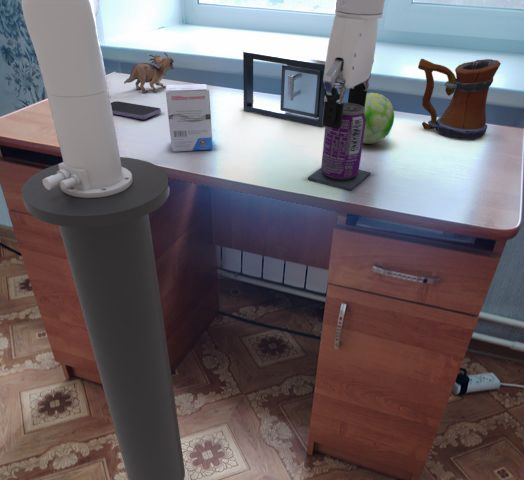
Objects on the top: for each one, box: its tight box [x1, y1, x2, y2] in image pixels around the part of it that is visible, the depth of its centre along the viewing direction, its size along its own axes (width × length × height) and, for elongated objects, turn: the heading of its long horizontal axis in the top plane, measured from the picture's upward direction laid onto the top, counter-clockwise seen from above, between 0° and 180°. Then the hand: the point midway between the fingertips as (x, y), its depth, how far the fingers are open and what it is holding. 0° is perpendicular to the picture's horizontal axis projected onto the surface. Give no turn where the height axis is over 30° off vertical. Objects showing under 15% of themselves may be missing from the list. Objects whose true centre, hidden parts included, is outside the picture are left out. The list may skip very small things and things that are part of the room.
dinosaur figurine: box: [123, 52, 175, 94], centre depth 136 cm, size 14×6×9 cm, turn 101°
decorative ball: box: [363, 92, 395, 145], centre depth 108 cm, size 10×10×10 cm
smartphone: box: [111, 100, 162, 121], centre depth 124 cm, size 7×1×15 cm
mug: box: [417, 58, 501, 141], centre depth 113 cm, size 18×12×15 cm, turn 77°
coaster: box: [307, 167, 372, 192], centre depth 96 cm, size 9×9×1 cm
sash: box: [279, 64, 322, 118], centre depth 115 cm, size 6×10×10 cm, turn 58°
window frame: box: [242, 49, 326, 128], centre depth 119 cm, size 3×22×13 cm, turn 58°
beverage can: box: [320, 102, 366, 180], centre depth 92 cm, size 7×7×12 cm
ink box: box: [165, 83, 214, 153], centre depth 103 cm, size 8×5×12 cm, turn 100°
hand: (343, 119), depth 90 cm, fingers open, 9 cm apart
